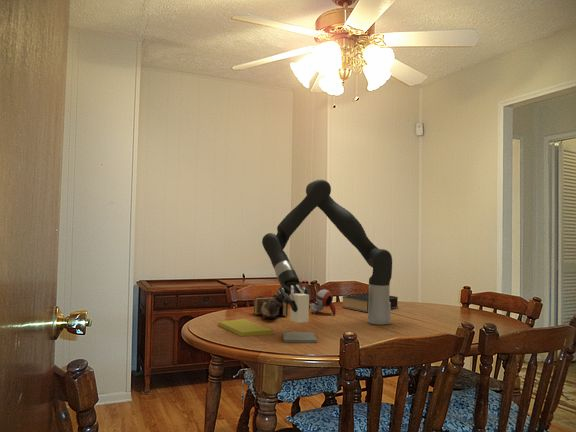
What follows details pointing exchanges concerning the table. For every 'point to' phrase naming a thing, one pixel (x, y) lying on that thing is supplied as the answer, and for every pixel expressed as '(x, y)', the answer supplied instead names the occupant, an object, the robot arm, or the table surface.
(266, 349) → the table surface
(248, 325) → the flat olive board
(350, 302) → the book
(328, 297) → the toy
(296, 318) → the cream block
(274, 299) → the bookend
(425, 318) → the table surface
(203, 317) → the table surface
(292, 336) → the slate pad
